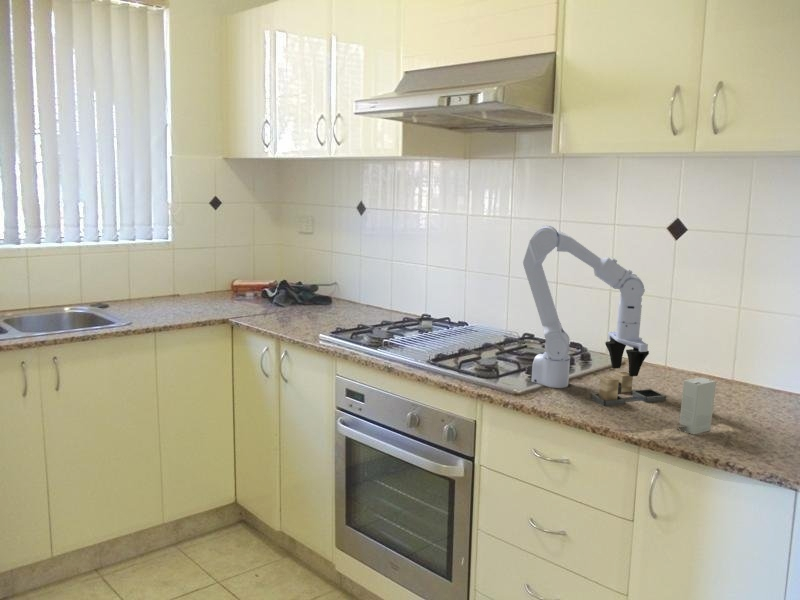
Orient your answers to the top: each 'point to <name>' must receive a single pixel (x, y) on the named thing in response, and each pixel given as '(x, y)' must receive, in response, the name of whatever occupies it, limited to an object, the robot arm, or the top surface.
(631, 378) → the beige wooden block
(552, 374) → the robot arm
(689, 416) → the skincare box
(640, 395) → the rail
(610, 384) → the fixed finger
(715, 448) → the top surface
